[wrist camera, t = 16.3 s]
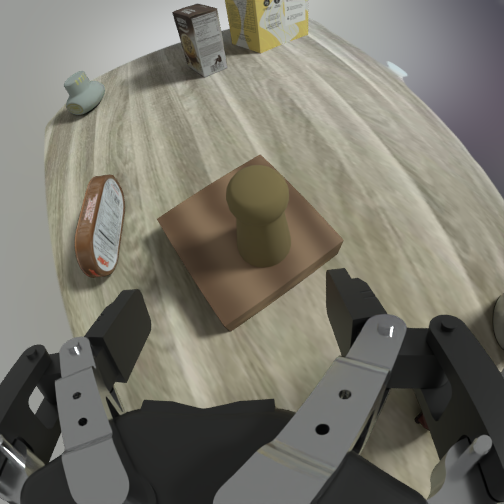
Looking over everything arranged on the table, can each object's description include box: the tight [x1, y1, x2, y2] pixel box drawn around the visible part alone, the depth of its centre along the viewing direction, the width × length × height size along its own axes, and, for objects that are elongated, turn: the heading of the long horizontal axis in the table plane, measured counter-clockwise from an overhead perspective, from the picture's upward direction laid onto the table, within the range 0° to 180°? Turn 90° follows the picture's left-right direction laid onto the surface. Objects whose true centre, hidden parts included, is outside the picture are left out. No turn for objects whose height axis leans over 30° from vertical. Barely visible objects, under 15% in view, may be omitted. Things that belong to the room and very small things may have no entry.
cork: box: [226, 165, 291, 268], centre depth 27 cm, size 6×6×11 cm
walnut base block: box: [157, 155, 343, 331], centre depth 35 cm, size 16×16×4 cm
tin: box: [75, 175, 125, 278], centre depth 35 cm, size 15×3×8 cm, turn 4°
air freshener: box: [64, 71, 105, 115], centre depth 51 cm, size 11×8×10 cm
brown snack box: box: [173, 4, 227, 77], centre depth 48 cm, size 9×6×16 cm
